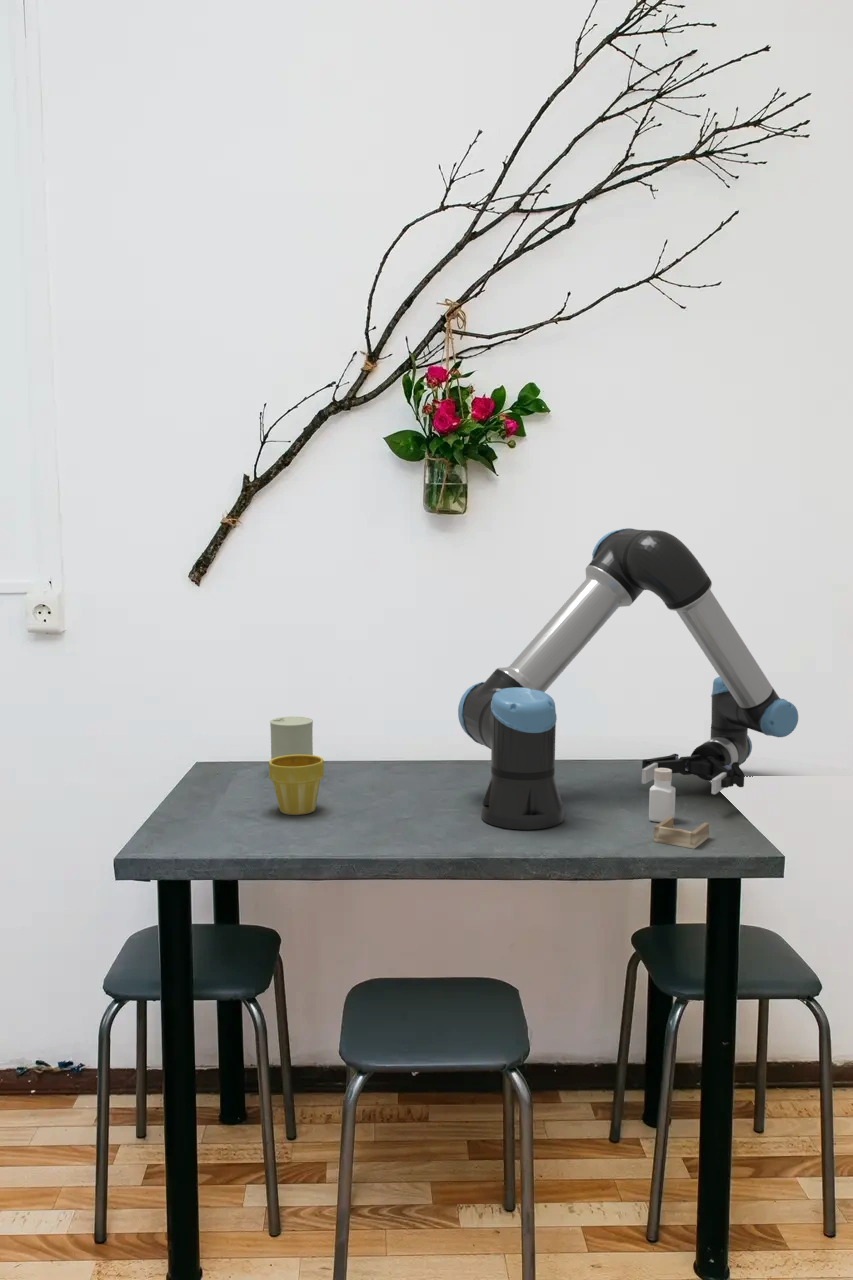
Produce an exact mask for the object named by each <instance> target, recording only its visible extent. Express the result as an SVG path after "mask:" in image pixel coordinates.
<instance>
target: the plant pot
mask: <svg viewBox="0 0 853 1280" xmlns="http://www.w3.org/2000/svg"><path fill="white" fill-rule="evenodd" d="M324 774H325V761H324V758H323V757H321V756H318V755H314V754H313V755H302V754H298V755H285V756H279V757H276V758H273V759H271V758H270V760H269V761H268V775H269V776H268V778H269V780H270V781H271V782H272V784H273V787H274V792H275V794H276V799H277V804H278V808H279V811H280V813H282V814H285V815H289V816H300V815H307V814H312V813H313V812H315V811H316V807H317V801H318V796H319V795H318V794H319V790H320V784H321V780H322V779H323V777H324V776H325V775H324Z"/></svg>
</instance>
